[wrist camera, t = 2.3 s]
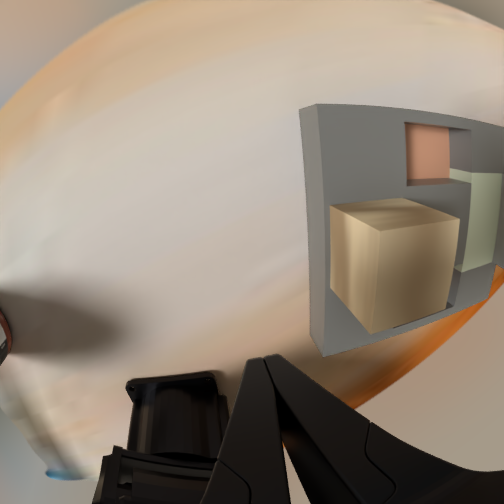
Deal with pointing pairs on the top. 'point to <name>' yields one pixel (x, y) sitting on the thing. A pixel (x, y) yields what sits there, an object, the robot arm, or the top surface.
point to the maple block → (391, 260)
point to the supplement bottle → (4, 338)
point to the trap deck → (401, 186)
